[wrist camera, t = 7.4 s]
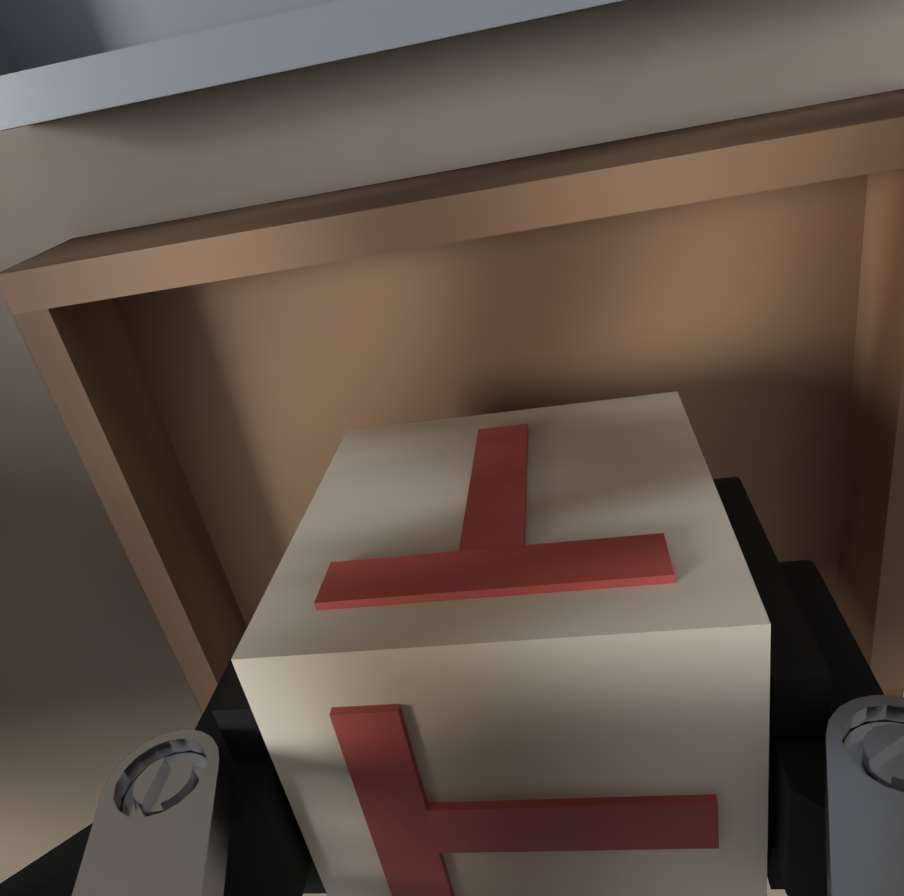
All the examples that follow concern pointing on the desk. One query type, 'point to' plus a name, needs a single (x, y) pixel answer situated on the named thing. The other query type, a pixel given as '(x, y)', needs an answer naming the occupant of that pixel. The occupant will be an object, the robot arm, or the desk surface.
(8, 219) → the desk surface
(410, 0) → the grey tray
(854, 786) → the robot arm
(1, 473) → the desk surface
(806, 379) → the walnut tray
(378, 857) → the letter cube
